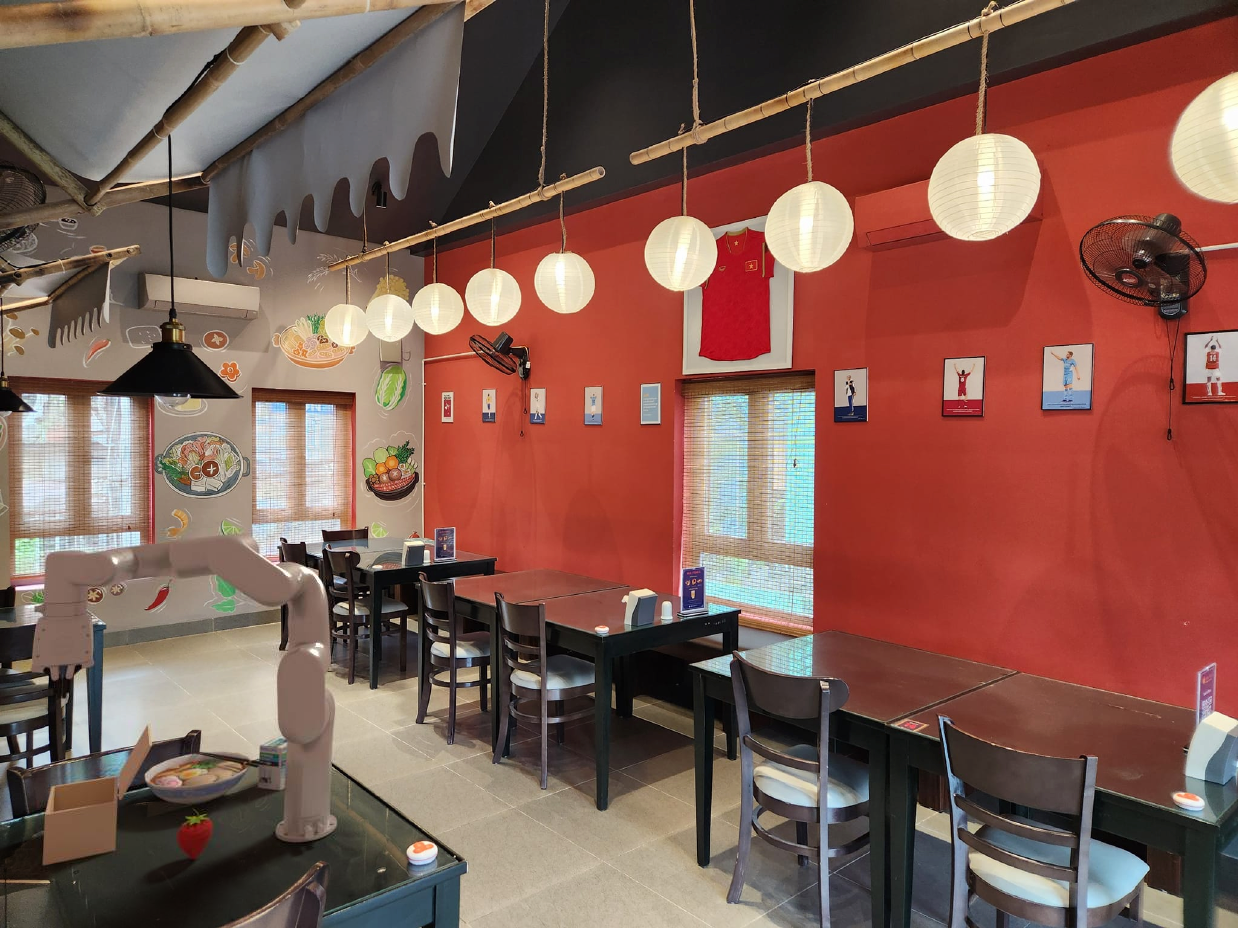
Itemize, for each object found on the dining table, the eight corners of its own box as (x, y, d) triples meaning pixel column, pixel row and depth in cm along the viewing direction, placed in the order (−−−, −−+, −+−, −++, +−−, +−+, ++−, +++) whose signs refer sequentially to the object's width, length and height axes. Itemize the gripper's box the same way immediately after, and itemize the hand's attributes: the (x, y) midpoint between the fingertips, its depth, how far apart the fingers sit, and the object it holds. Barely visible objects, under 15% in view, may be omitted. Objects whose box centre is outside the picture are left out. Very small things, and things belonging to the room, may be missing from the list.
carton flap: (118, 798, 156) (121, 799, 156) (149, 745, 159) (151, 745, 159) (119, 773, 169) (121, 774, 169) (147, 724, 172) (149, 724, 173)
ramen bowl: (116, 807, 176) (117, 772, 176) (203, 773, 197) (204, 741, 197) (192, 828, 166) (193, 791, 166) (274, 790, 187) (275, 757, 188)
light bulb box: (280, 791, 187) (282, 747, 187) (256, 788, 188) (258, 745, 188) (306, 774, 197) (308, 733, 198) (283, 772, 199) (285, 731, 199)
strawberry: (167, 867, 150) (169, 816, 150) (192, 848, 157) (194, 800, 157) (195, 869, 149) (197, 818, 149) (219, 850, 157) (221, 802, 157)
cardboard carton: (115, 850, 156) (117, 801, 156) (42, 865, 149) (44, 814, 149) (116, 820, 169) (117, 775, 169) (49, 832, 162) (51, 786, 163)
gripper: (18, 615, 151) (14, 707, 150) (108, 609, 159) (104, 696, 158) (22, 609, 157) (18, 697, 156) (108, 604, 165) (105, 688, 165)
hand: (61, 697), depth 157 cm, fingers closed
